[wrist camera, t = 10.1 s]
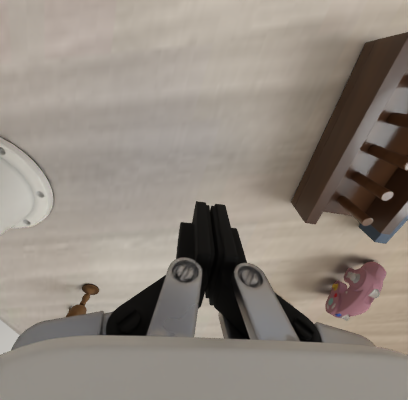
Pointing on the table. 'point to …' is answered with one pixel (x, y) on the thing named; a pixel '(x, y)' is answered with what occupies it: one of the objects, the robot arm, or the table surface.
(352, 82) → the rack
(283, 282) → the table surface
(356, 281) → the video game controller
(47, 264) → the table surface
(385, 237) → the bar
